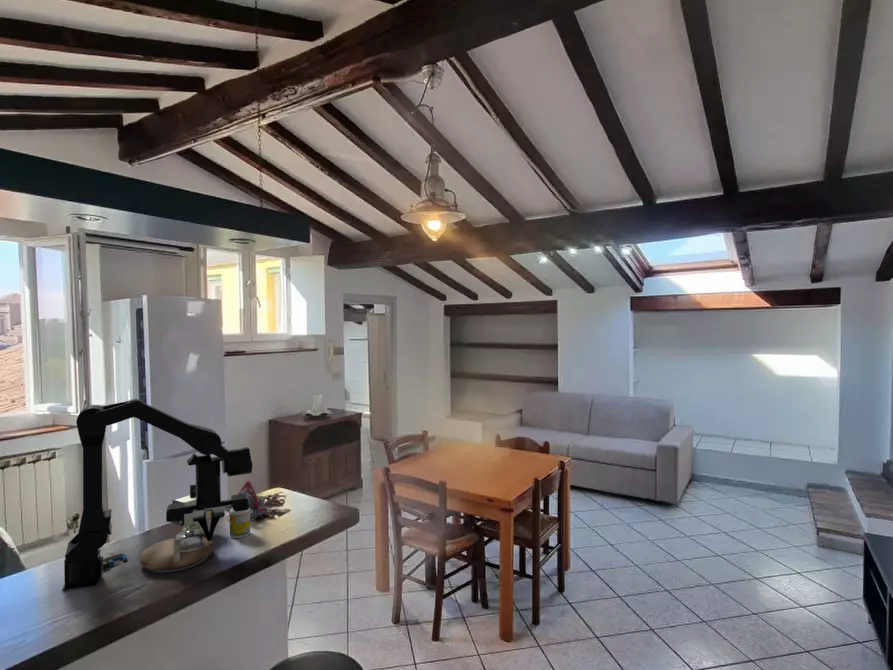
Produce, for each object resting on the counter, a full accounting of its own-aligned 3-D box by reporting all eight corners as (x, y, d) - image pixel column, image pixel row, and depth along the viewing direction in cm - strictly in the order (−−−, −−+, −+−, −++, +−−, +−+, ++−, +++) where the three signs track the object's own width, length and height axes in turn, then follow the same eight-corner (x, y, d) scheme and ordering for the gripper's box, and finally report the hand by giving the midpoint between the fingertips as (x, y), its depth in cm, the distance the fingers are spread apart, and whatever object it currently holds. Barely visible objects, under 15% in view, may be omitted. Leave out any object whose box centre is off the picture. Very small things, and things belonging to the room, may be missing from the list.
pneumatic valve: (217, 531, 145) (217, 489, 145) (177, 546, 135) (176, 500, 135) (206, 527, 148) (205, 486, 148) (165, 541, 138) (165, 497, 138)
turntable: (136, 575, 116) (136, 551, 116) (143, 548, 130) (143, 527, 130) (214, 561, 123) (213, 538, 123) (212, 536, 137) (212, 517, 137)
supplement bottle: (251, 536, 141) (250, 502, 141) (230, 540, 138) (229, 505, 138) (249, 529, 146) (249, 496, 146) (229, 533, 143) (228, 499, 143)
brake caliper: (278, 505, 158) (257, 481, 152) (253, 536, 151) (230, 511, 145) (256, 499, 165) (235, 475, 159) (232, 528, 158) (209, 504, 152)
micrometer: (123, 550, 129) (131, 556, 126) (123, 558, 129) (131, 563, 126) (67, 566, 120) (74, 573, 117) (67, 574, 120) (74, 581, 117)
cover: (173, 555, 123) (173, 538, 123) (174, 544, 129) (174, 528, 129) (204, 549, 126) (204, 533, 126) (204, 539, 132) (204, 524, 132)
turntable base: (142, 578, 117) (142, 573, 117) (148, 554, 130) (147, 550, 130) (209, 566, 123) (209, 561, 123) (208, 544, 136) (208, 540, 136)
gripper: (245, 467, 141) (245, 523, 141) (168, 476, 133) (169, 536, 133) (248, 477, 131) (249, 538, 131) (165, 488, 122) (166, 552, 123)
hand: (209, 540), depth 130 cm, fingers closed
